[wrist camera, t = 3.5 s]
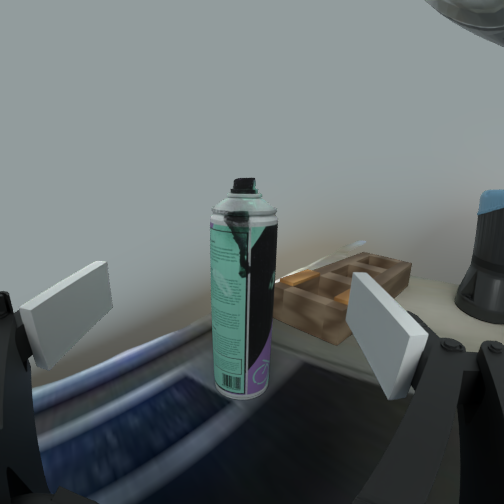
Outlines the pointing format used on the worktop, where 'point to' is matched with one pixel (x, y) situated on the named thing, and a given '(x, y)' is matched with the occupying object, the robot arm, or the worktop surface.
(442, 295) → the worktop surface
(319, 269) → the rack
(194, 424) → the worktop surface
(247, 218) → the spray can
